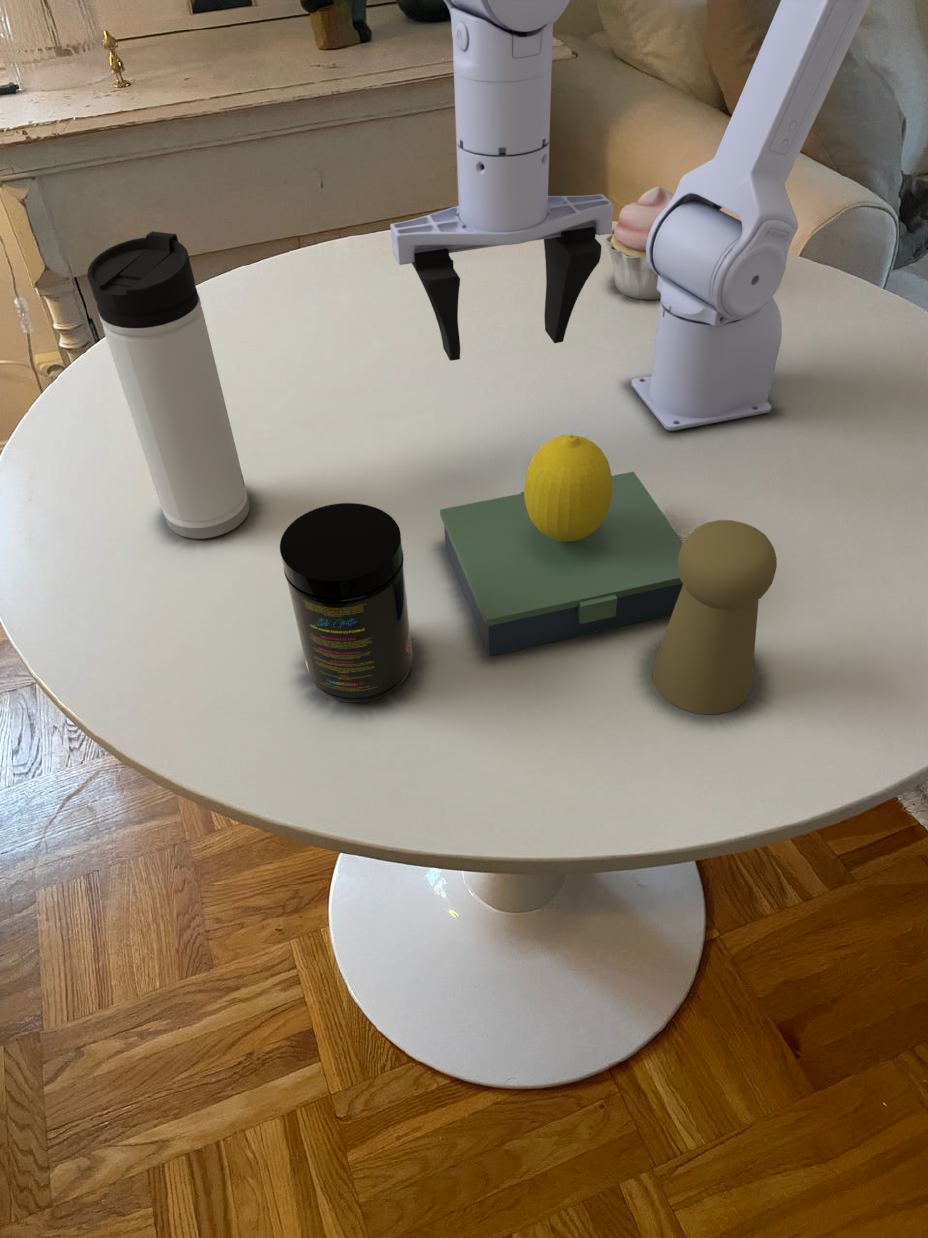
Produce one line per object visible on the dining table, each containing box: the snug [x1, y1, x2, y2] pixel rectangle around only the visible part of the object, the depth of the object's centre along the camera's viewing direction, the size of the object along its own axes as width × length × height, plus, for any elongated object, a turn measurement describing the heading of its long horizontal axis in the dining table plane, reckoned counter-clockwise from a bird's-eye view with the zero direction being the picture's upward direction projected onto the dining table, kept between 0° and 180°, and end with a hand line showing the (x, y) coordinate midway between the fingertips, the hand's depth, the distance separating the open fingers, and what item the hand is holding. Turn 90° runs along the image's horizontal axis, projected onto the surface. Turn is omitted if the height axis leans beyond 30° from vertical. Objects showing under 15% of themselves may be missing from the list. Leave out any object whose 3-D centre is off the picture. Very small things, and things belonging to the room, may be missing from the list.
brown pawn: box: [651, 519, 778, 715], centre depth 53 cm, size 6×6×11 cm
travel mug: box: [86, 230, 251, 540], centre depth 63 cm, size 6×7×20 cm
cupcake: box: [603, 186, 674, 300], centre depth 91 cm, size 9×9×10 cm
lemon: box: [523, 434, 613, 542], centre depth 59 cm, size 6×6×8 cm
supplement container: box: [279, 502, 413, 703], centre depth 55 cm, size 7×7×10 cm
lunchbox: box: [439, 471, 684, 656], centre depth 63 cm, size 14×12×4 cm
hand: (503, 344), depth 66 cm, fingers open, 7 cm apart
